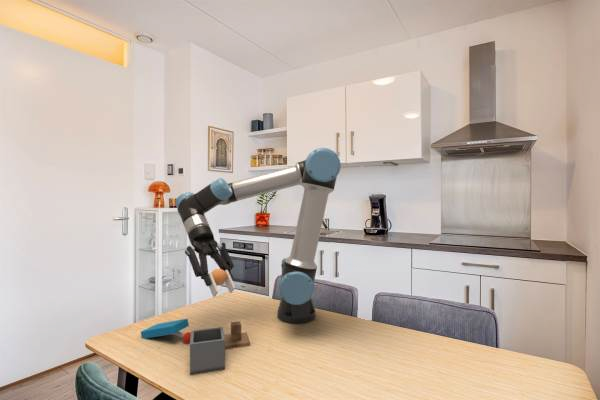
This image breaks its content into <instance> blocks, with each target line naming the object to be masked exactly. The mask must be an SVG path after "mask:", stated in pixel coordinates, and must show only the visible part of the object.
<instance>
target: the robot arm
mask: <svg viewBox="0 0 600 400" xmlns="http://www.w3.org/2000/svg"><path fill="white" fill-rule="evenodd" d="M341 165H342V164H341V160H340V157H339V156H338V154H337V153H336V152H335V151H334V150H333V149H330V148H328V147H319V148H316V149H314V150H311V151H310V153H308V155H307V157H306V159H304V160H302V161H298V162H296V164H295V165H293V166H290V167H286V168H285V167H284V168H282V169H278V170H275V171H271V172H267V173H263V174H260V175H256V176H252V177H248V178H244V179H241V180H237V181H234V182H229V183H227V181H226V180H225V179H224V178H222V177H221V178H217V179H216V180H213V181H212V182H211V183H209V184H208V185H206V186H205V187H204V188H202V189H200V190H199V191H198V192H196V193H194V192H192V191H188V192H185V193H181V194H179V196H177V198H176V199H175V206H176V210H177V213H178V215H179V217H180V218H181V221H182V224H183V226H184V229H185V232H186V234H187V236H188V237H187V238H188V240H189V242H190V244H191V245H188V246H187V247H186V249H185V251H184V254H185V255H186V256H187V257H188V259H189V262H190V265H191V267H192V271H193V273H194V275H195V277H196V278H200V279H201V280H203V281H204V285H205V286H206V287H209V290H210V294H211V295H212V298H214V297H216V296H217V295H218V294H219V292H220V291H219V288H218V286H217V285H216V283H215V281H214V278H213V276H212V273H211V272H209V265H208V257H207V256H209V257H210V258H211V259H212V260H213V261H214V262H215V263H216V264H217V266H218V267H219V269H222V270H224V271H225V273H226V275H227V278H226V281H225V282H224V283H225V285H226V288H227V290H228V292H229V293H230V294H232V293H233V292H234V291H235V289H236V286H235V284H234V281H233V280H234V276H233V274H232V272H231V271H232V270H233V268H234V267H235V264H234V262H233V260H232V258H231V256H230V254H229V252H228V250H227V248H226V243H225V242H221V243H219V242H217V240H216V239H215V237H214V236H215V235H214V233H213V231H212V229H211V227H210V224H209V222H208V219H207V217H206V215H205V213H208V212H209V211H211V210H212V209H215V207H217V206H225V205H229V204H231V203H236V202H238V201H242V200H243V201H244V200H245V199H251V198H254V197H258V196H261V195H265V194H270V193H272V192H276V191H281V190H283V189H287V188H292V187H295V186H296V187H297V186H301V187H303V189H304V190H303V195H302V199H301V204H300V208H299V213H298V219H297V223H296V226H295V227H296V228H295V231H294V233H295V234H294V236H293V241H292V247H291V251H290V255H289V256H288V257H285V258H283V259H281V264H280V266H281V276H280V280H279V283H278V290H279V291H278V292H279V294H280V296H281V298H280V301H279V305H278V308H277V311H276V313H277V316H276V317H277V319H278V320H279V321H280V322H283V323H287V324H295V325H296V324H305V323H306V324H307V323H309V322H312V321H314V320H315V319H316V318H317V317H316V316H317V315H316V314H317V313H316V308H315V305H314V302H313V298H312V297H313V295H314V292H315V284H314V283H315V279H316V274H317V270H318V266H317V263H316V262H315V259H316V253H317V250H318V244H319V240H320V235H321V230H322V226H323V222H324V217H325V211H326V208H327V204H328V203H327V202H328V198H329V195H330V194H331V193H333V192H334V190H335V186H336V183H337V177H338V175H339V174H340V172H341ZM196 253H197V254H198V257H197V254H196Z"/></svg>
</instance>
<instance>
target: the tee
mask: <svg viewBox="0 0 600 400" xmlns="http://www.w3.org/2000/svg"><path fill="white" fill-rule="evenodd" d="M224 337H225V350H229V349H235V348H236V349H237V348H245V347H249V346H251V342H250V338H249V335H248V331H246V332H245V331H244V332H242V323H241V320H240V321H239V320H238V321H231V322H230V333H228V334H224Z"/></svg>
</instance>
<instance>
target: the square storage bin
mask: <svg viewBox="0 0 600 400" xmlns="http://www.w3.org/2000/svg"><path fill="white" fill-rule="evenodd" d="M190 332H191V338H190V343H189V376H191V375H198V374H204V373H210V372H216V371H222V370H225V369H226V349H225V337H224V335H225V332H224V327H223V326H218V327H211V328H210V327H209V328H203V329H194V330H190Z"/></svg>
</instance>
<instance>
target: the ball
mask: <svg viewBox="0 0 600 400" xmlns="http://www.w3.org/2000/svg"><path fill="white" fill-rule="evenodd" d="M210 273H212V276H213V278H214V281H215V283H216V285H217V287H218V286H221V285H223V284H224V283H225V281H226V278H227V275H226V273H225V271H224V270H222V269H220V268H215V269H214V270H212V271H211V272H210Z"/></svg>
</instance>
